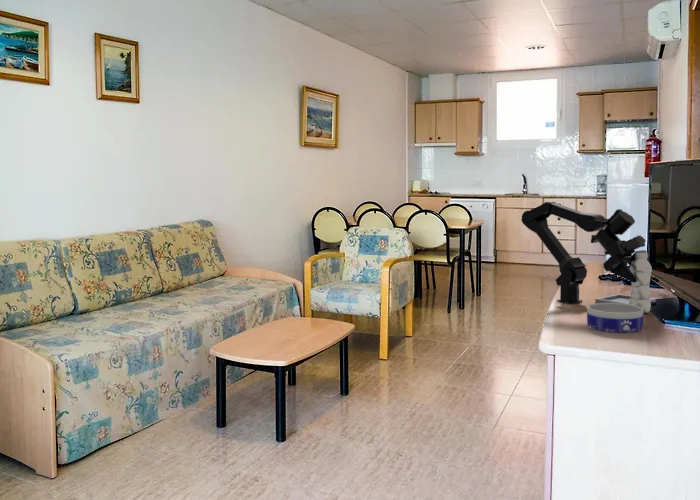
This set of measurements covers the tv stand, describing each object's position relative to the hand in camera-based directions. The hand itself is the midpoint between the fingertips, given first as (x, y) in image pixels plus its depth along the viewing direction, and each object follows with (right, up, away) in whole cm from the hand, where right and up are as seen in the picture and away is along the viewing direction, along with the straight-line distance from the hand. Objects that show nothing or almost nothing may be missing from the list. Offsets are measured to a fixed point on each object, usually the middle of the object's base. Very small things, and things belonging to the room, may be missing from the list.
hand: (643, 280), depth 196 cm
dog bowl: (-16, -13, -16) cm, 26 cm away
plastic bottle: (0, -11, +2) cm, 11 cm away
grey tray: (+2, -9, +18) cm, 20 cm away
